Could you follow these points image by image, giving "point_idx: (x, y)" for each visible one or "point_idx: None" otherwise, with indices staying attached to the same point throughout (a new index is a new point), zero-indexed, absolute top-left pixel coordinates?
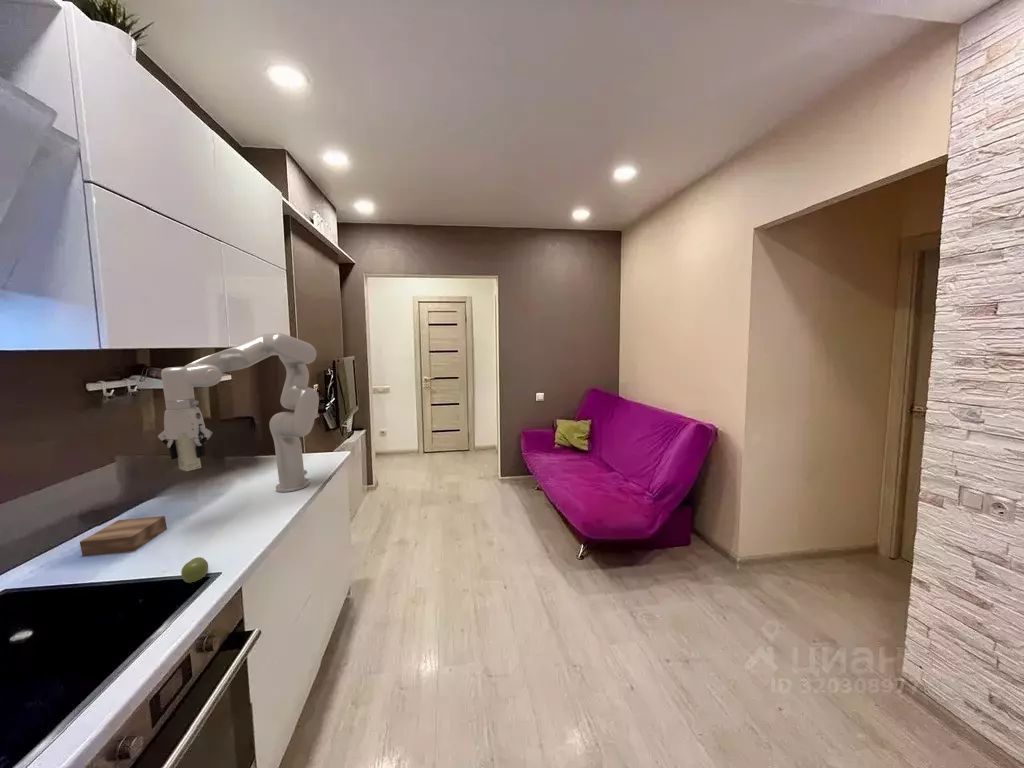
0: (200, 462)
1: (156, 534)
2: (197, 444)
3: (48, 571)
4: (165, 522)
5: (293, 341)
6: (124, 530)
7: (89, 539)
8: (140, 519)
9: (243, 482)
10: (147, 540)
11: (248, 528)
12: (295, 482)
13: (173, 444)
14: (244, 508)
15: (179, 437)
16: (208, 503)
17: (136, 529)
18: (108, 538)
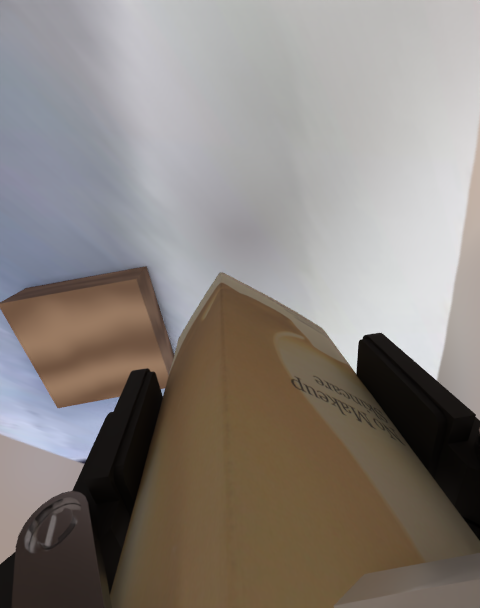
0: (338, 350)
1: (157, 304)
2: (465, 521)
3: (77, 425)
4: (142, 274)
5: None
6: (110, 360)
7: (70, 399)
8: (75, 300)
9: None
10: (165, 331)
11: (380, 267)
12: None
13: (110, 566)
14: (294, 118)
15: None
16: (95, 41)
17: (140, 355)
18: (117, 394)
